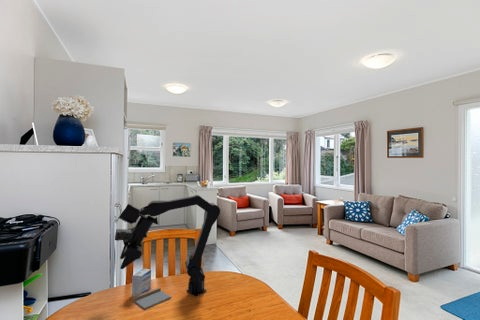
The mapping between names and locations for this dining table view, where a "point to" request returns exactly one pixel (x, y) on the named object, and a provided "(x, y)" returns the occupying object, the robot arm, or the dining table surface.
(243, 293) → the dining table surface
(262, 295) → the dining table surface
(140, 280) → the medicine box
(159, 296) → the mat
